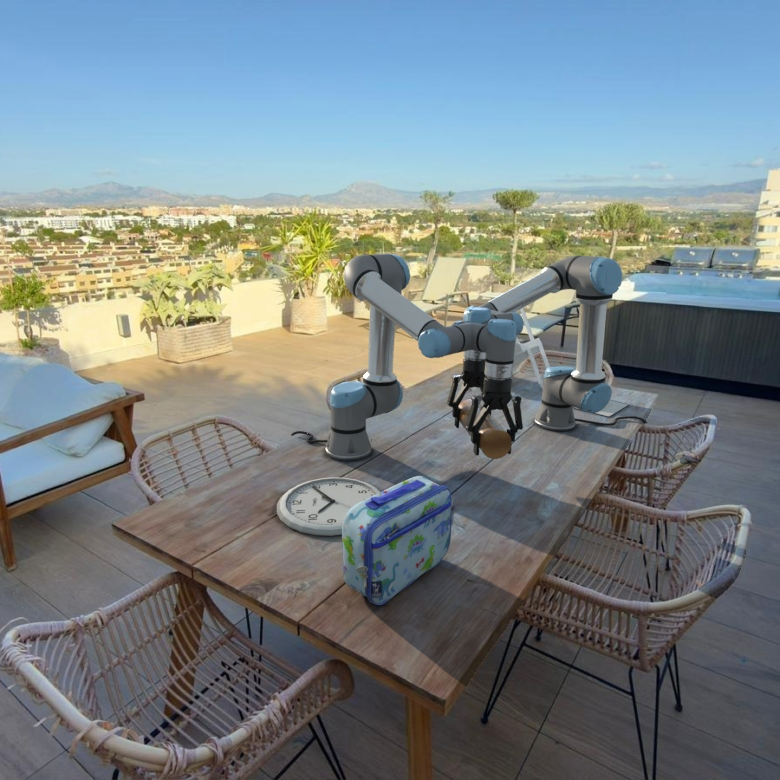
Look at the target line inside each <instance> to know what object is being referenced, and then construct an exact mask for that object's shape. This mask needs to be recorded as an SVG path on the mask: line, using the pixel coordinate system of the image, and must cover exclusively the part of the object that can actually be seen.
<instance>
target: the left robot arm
mask: <svg viewBox="0 0 780 780" xmlns="http://www.w3.org/2000/svg"><path fill="white" fill-rule="evenodd" d="M410 279H411V273H410V268H409V265H408V263H407V262H406V261H405V259H404V257H402V256H401V255H398V254H393V253H374V254H372V253H371V254H358V255H356V256H354V257H352V258H351V259H350V260H349V261H348V262H347V263H346V266H345V268H344V271H343V281H344V284H345V287H346V289H347V290H348V292H349V293H350V294H351V295H352V296H354V298H356V299H358V300H359V301H361V302H367V303H368V304H369V321H368V322H369V323H368V325H369V326H368V350H367V351H368V353H367V371H366V372H365V373H364V374H363V375H362V381H358V380H350V381H344V382H340V383H338V384H336V385H334V386H333V388H331V391H330V398H329V404H330V433H329V435H328V439H313V438H314V435H313V434H312V433H310V432H307V431H304V430H303V431H302V430H296V431H293V432H292V433H291V434H290V436H292V437H293V436H295V435H298V434H301V435H306V436H308V438H306V440H305V441H306V443H308V444H316V443H326V446H325V453H326V455H327V456H328V457H329V458H331V459H332V460H333V459H334V460H337V461H342V462H343V461H347V462H353V461H359V460H362V459H366V458H367V457H369V456H370V455H371V453H372V444H371V443H372V442H373V440H372V437H371V436H370V437H369V435H368V433H367V419H371V418H373V417H378V416H380V415H383V414H389V413H391V412H392V411H395V410H396V409H397V408H399V407H400V405H401V404H402V402H403V398H404V390H403V387H402V384H401V382H400V381H399V380H398V377H397V375H396V374H395V372H394V355H395V337H396V335H395V334H396V326H397V327H399V328H400V329H401V330H403V331H404V332H405V333H407V334H408V335H409V336H410V337H411V338H412V339H414V340H415V341H417V346H418V349H419V350H420V354H421V355H423V357H425V358H428V359H438V358H439V359H440V358H443V357H446V356H451V355H455V354H459V353H464V351H468V350H474V351H479V352H484V353H486V361H485V372H484V374H485V375H486V376H485V377H484V386H483V393H482V392H481V395H477V396H476V395H471V397H470V399H471V400H472V404H471V408H470V411H469V415H468V418H467V422H466V425H465V428H466V429H467V430H468V431H469V432H471V436H470V441H471V444H473V450H472V451H473V453H474V455H475V456H480V448H479V444H480V433H479V432H478V431H479V429H480V427H481V426H482V424H483V422H484V420H485V419H486V417H487V415H488V413H490V411H491V412H492V411H495V410H498V411H502V413H503V416H504V418H505V420H506V422H507V425H508V428H507V429H506V432H507V433H508V434H509V435H510V437H511V440H512V443H514V442H515V441H516V436H517V435H516V434H517V433H518V431H519V430H520V431H521V430H523V429H524V424H523V416H522V410H521V407H522V406H521V403H522V399H523V398H522V397H521V396H520V395H519V394H517V393H515V394H512V386H513V378H512V377H513V372H514V368H513V364H514V351H515V342H516V337H517V336H516V323H515V322H514V321H512V320H507V319H492V320H490V321H489V322H488V325H483V324H478V323H472V322H469V321H464V320H457V321H454V322H453V324H451V325H449V326H445V325H444V324H442V323H440V322H439V321H437V320H436V319H435V318H433V316H431V315H430V314H428V313H427V312H425V311H424V310H423V309H421V308H420V306H419V307H418V306H417V305H416V304H414V303H413V302H412V301H411V300H409V299H408V298H406V297H405V296H404V295H403V293H402V291H403V290H405V289H406V288H407V286H408V285H409V283H410ZM481 402H483V405H482V410H481V412H480V413H479V415H478V417H477V419H476V420H475V417H476V414H477V410H478V404H481ZM510 402H512V407H513V408H512V409H513V415H514V419H513V417H512V415H511V412H510V409H509V406H508V404H509V403H510ZM474 420H475V422H474ZM465 428H464V429H465ZM466 429H465V430H466ZM307 433H308V434H307ZM369 438H370V439H369ZM511 454H512V448H511V449H510V451H509V452H508V453H507V455H511Z"/></svg>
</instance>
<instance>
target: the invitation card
mask: <svg viewBox="0 0 780 780" xmlns="http://www.w3.org/2000/svg"><path fill="white" fill-rule="evenodd" d="M628 406H629V404H627V403H623V402H618V401H614V400H610V401H609V403H608V404H607V405H606V406H605V408H604V409H602V410H601V411H599V412H597V413H595V414H596V415H600V416H604V417H608V418H609V417H611V416H613V415H614V414H616V413H617V412H619V411H621V410H623V409H624V408H626V407H628ZM573 409H575V410H581V409H578V408H576V407H573ZM581 411H582V410H581Z"/></svg>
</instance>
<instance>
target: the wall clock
mask: <svg viewBox="0 0 780 780" xmlns="http://www.w3.org/2000/svg"><path fill="white" fill-rule="evenodd" d="M380 492H382V491H381V490H380V489H379V488H377V487H376V486H374V485H372V484H371V483H369V482H365V481H362V480H359V479H355V478H349V477H338V476H337V477H335V476H333V477H332V476H331V477H322V478H317V479H312V480H307V481H305V482H302V483H299V484H297V485H295V486H293V487H292V488H290V489H288V490H287V491H286V492H285V493H284V494H283V495H281V496H280V498H279V499H278V502H277V503H276V515H277V517H278V518H279V520H280V521H281V522H282V523H283V524H285V525H286V526H287V527H288V528H290V529H293V530H295V531H297V532H299V533H303V534H308V535H312V536H327V537H328V536H329V537H331V536H332V537H333V536H342V525H343V521H344V518H345V516H346V514H347V512H348V511H349V510H350V509H351V508H352V507H353V506H354V505H356V504H358V503H360V502H362V501H364V500H366V499H368V498H370V497H372V496H374V495H376V494H378V493H380Z"/></svg>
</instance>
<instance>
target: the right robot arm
mask: <svg viewBox="0 0 780 780" xmlns="http://www.w3.org/2000/svg"><path fill="white" fill-rule="evenodd" d="M622 283H623V271H622V268H621V266H620V264H619V263H618V262H617V261H616V260H615V259H613V258H610V257H604V256H593V255H592V256H590V255H572V256H571V255H570V256H568V257H565V258H563V259H560V260H558V261H555V262H553V263H552V264H550V265H548V266H546V267H544V268H543V269H541V271H540V273H539V274H537V275H536V276H533V277H531V278H529V279H528V280H526V281H524V282H522V283H521V284H519V285H517V286H514V287H513V288H511V289H509V290H508V291H505V292H504V293H502V294H500V295H498V296H496V297H494V298H492V299H490V300H489V301H487V302H484V303H483V304H481V305H470V306H467V308H466V309H464V312H463V314H462V321H469V322H472V323H478V324H483V325H488V322H489V321H490V320H492V319H507V320H512V321H514V322H515V323H516V337H517V336H519V335H520V334H522V332H523V330H524V325H525V323H524V320H523V317H522V314H521V313H519V312H518V311H520V309H522V308H523V309H524V308H525V307H527V306H530V305H531V304H533V303H534V302H536V301H538V300H540V299H542V298H544V297H545V296H547V295H549V294H557V293H558V292H561V291H566V290H573V291H575V299H576V300H577V301H578V302H579V313H578V314H579V315H578V330H577V344H576V345H577V346H576V359H575V360H576V361H575V367H574V366H566V365H565V366H564V365H559V366H558V365H557V366H550V367H549V368H547V369H546V368H545V370H544V375H543V378H542V379H543V380H542V382H543V389H542V392H541V402H540V405H539V407H538V410H537V411H536V413H535V417H534V424H535V425H536V426H537V427H539V428H542V429H544V430H549V431H556V432H567V431H572V430H574V429H575V428H576V422H579V423H585V424H591V425H597V426H605V427H611V426H615V425H617V423H618V421H619V420H629V419H635V420H638V421H641V422H643V423H644V424H648V421H647V420H646V419H644V418H642V417H640V416H635V415H627V416H626V415H625V416H618V417H615V418H614V421H613V422H598V421H594V420H593V421H592V420H586V419H581V418H575V417H576V416H575V413H574V407H576V408H578V409H577V410H580V409H581V411H582V412H586V413H589V414H596V413H597V412H599V411H601V410H602V409H604V408H605V406H606V405H607V404H608V403H609V401H611V398H612V393H613V391H612V388H611V386H610V385H609V384H608V383H607V382H606V376H607V375H606V373H605V372H604V371H603V370H602V368H603V355H604V344H605V335H606V334H605V331H606V321H607V308H608V303H609V302H610V301H612V299H613V296H614V294H616V293H617V292H618V291H619V289H620V288H619V287H621V286H622ZM462 356H463V359H462V372H461V374H460V375H455V374H453V375H452V376H451V379H452V380H451V381H452V383H451V387H450V390H449V394H448V398H447V401H446V404H447V406H448V407H449V408H452V411H451V412H452V413H451V415H452V417H453V418H454V427H456V429H460V421H459V420H460V408H459V407H458V406H459V404H460V403H461V402H462V401H463V400H464V397H465V395H466V394H467V392H468V391H469V389H473V388H479V390H480V393H481V394H482V393H483V386H484V377H485V376H486V375H485V374H484V372H485V361H486V353H484V352H479V351H474V350H468V351H464V352H463V355H462ZM461 380H462V381H463V382H462V384H461V387H460V389H459V391H458V387H459V383H460V382H461ZM457 391H458V393H457ZM456 394H457V395H456ZM576 408H575V409H576ZM489 414H490V415H491V416H492V410H491V411H490V413H489Z"/></svg>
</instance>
